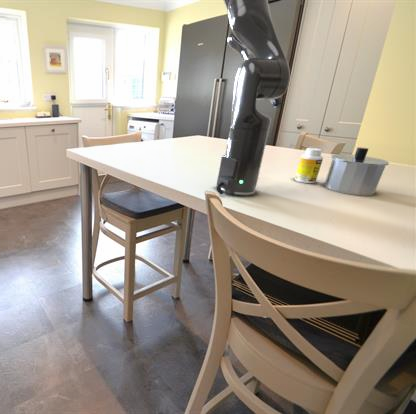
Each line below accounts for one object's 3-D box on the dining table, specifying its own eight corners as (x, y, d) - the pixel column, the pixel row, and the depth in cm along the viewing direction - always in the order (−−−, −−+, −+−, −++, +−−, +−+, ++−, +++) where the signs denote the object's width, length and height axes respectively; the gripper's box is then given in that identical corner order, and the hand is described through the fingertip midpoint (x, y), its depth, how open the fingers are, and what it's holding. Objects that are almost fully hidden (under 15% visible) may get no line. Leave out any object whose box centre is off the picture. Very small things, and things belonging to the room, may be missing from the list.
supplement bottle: (311, 185, 86) (321, 151, 82) (291, 180, 90) (300, 148, 87) (318, 182, 89) (328, 149, 85) (298, 177, 93) (307, 146, 90)
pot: (354, 197, 77) (365, 166, 73) (315, 184, 87) (323, 157, 84) (384, 194, 80) (396, 164, 76) (343, 182, 90) (352, 155, 86)
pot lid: (365, 169, 73) (371, 153, 72) (320, 158, 84) (324, 144, 83) (399, 166, 76) (405, 151, 75) (351, 157, 87) (355, 143, 86)
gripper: (267, 77, 105) (286, 113, 99) (237, 75, 102) (254, 113, 96) (282, 59, 99) (303, 98, 92) (250, 57, 95) (270, 97, 89)
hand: (278, 106), depth 94 cm, fingers closed
